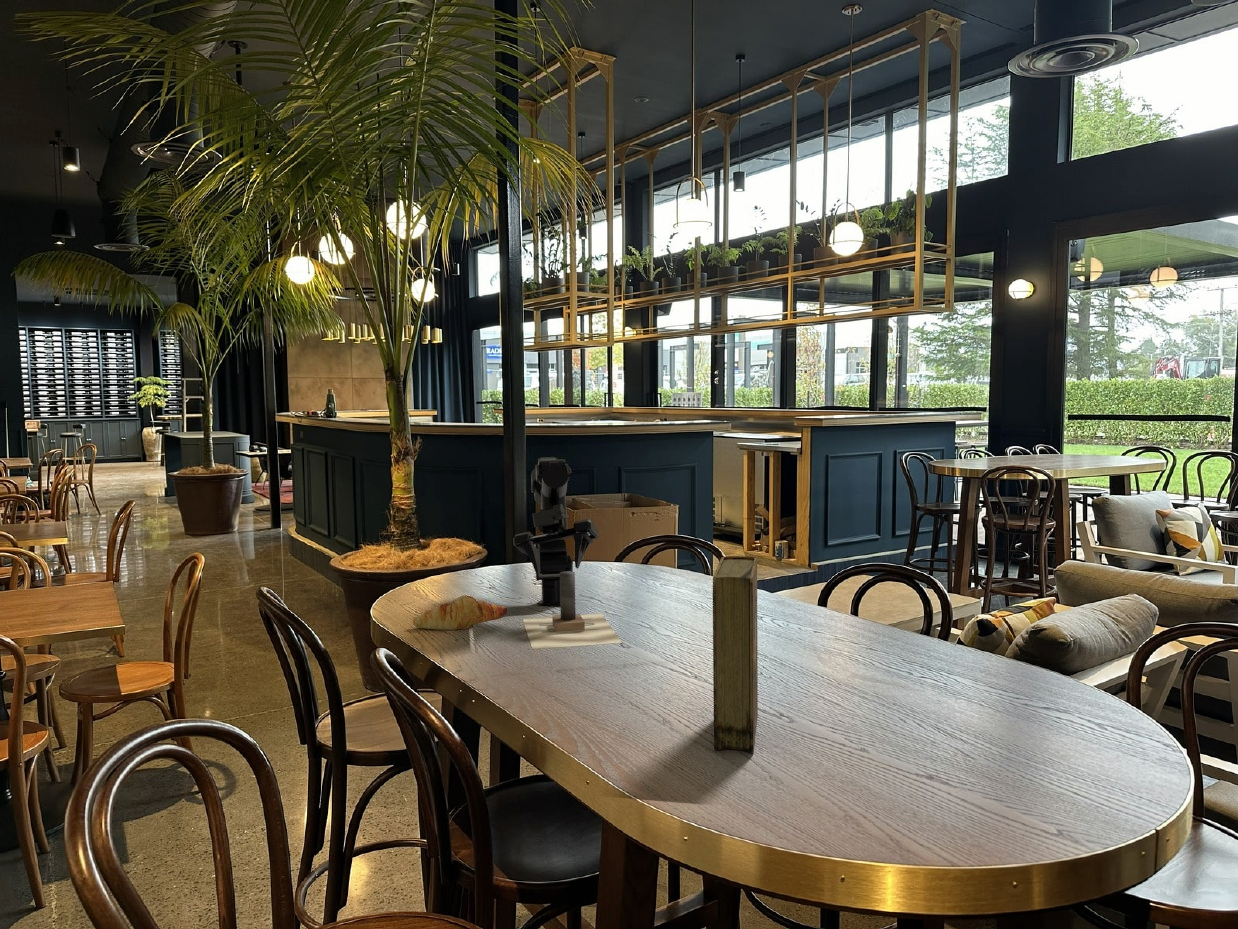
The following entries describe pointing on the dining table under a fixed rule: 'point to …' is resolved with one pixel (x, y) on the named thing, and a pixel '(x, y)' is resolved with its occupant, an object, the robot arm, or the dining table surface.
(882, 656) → the dining table surface
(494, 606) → the croissant
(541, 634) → the birch board
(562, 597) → the grey post on base
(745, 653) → the book
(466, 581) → the dining table surface
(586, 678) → the dining table surface
